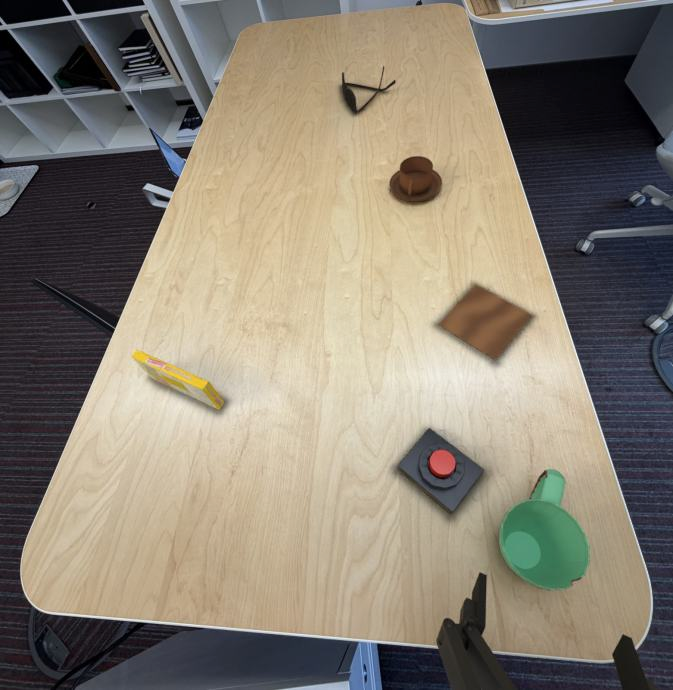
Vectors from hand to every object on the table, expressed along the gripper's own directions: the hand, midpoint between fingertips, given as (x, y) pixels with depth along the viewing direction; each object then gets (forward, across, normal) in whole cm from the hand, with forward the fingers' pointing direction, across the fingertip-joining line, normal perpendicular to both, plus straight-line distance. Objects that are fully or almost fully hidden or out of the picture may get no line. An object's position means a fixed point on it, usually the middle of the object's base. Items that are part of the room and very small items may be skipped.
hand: (547, 612), depth 42 cm
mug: (+17, 0, -3) cm, 17 cm away
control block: (+20, -14, 0) cm, 24 cm away
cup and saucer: (+63, -37, +43) cm, 85 cm away
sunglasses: (+89, -62, +69) cm, 128 cm away
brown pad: (+40, -13, +21) cm, 47 cm away
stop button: (+17, -14, +2) cm, 22 cm away
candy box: (+18, -60, -2) cm, 63 cm away
